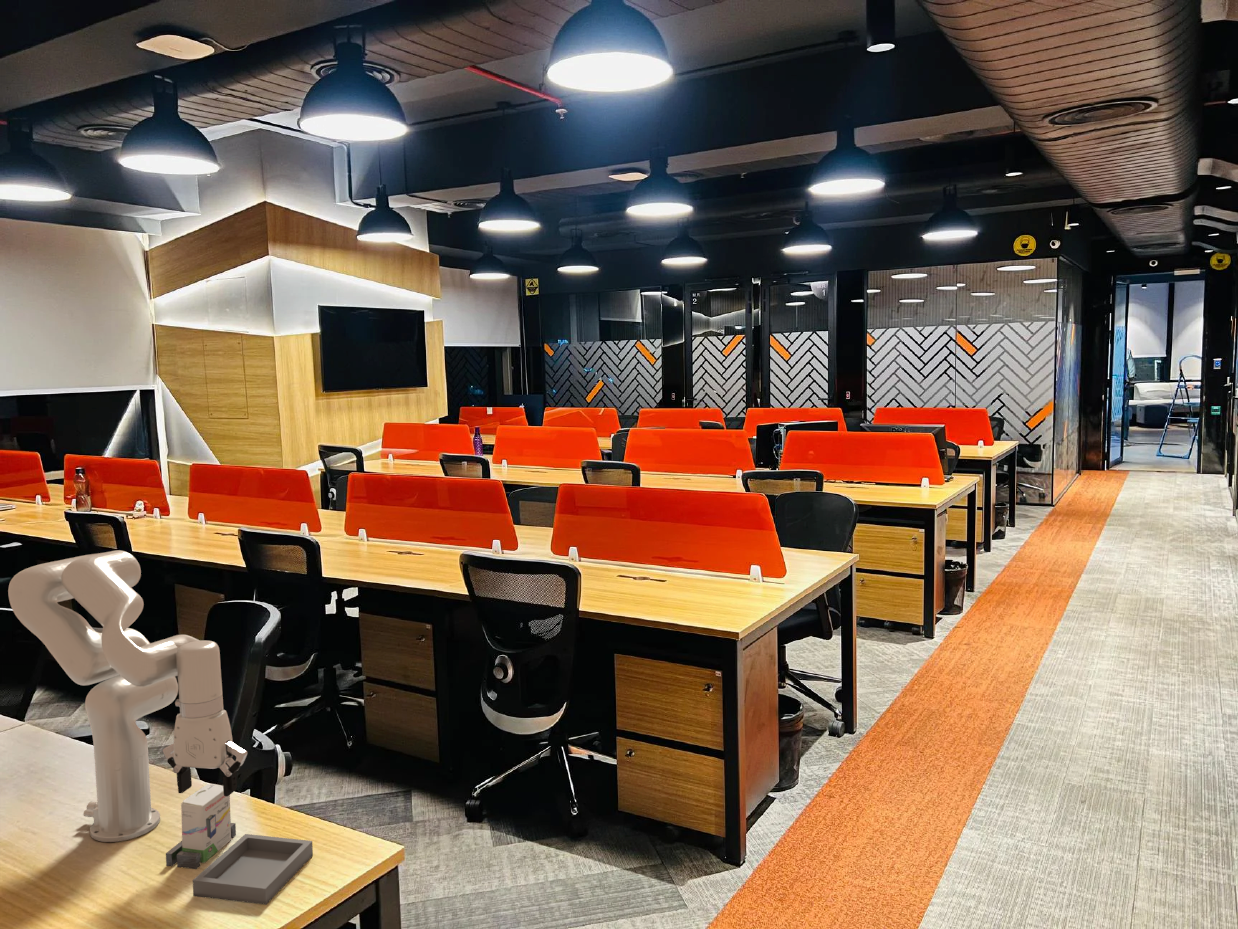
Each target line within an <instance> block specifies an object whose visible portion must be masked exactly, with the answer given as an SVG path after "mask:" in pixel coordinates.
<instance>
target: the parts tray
mask: <svg viewBox="0 0 1238 929" xmlns="http://www.w3.org/2000/svg"><path fill="white" fill-rule="evenodd" d="M313 849H314V848H313V840H307V839H306V840H305V839H299V838H298V839H296V838H287V837H280V836H268V835H259V834H251V833H250V834H249V833H244V835H243V836H241V837H240V838H238V840H237V841H236V842H235V843H234V844H232V845H231V846H230V847H229V848H228V849H226V850H225V851H224V852H223V853H222V854H221V855H220V856H218V858H216V859H215V860H214V861H213V862H211V864H210V865H208V866H206V868H205V869H204V870H202V871H201V872H200V873H199V874H197V875H196V877H194V879H192V894H193V897H199V898H205V897H206V898H205V899H215V900H222V901H230V902H231V901H232V902H241V903H249V904H255V905H256V904H257V905H264V906H266V905H267V904H268V903H269V902H271V901H272V899H273V898H274V897H275V896H276V895H277V894H278V893H279V892H280V891H281V890H282V889H283V888H284V886H285V885H286V884H287V883H289V881H290V880H291V879H292V878H293V877H294V876H295V875H296V874H297V873H298V872H299V871H300V870H301V869H302V868H303V867H304V866H305V864H307V862H308V861H309V860H310V859H311V858H312V857H313V856H314V853H313V852H314V850H313Z"/></svg>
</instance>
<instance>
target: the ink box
mask: <svg viewBox="0 0 1238 929" xmlns="http://www.w3.org/2000/svg"><path fill="white" fill-rule="evenodd" d="M180 806H181V808H180V810H181V841H182V851H183V852H192V853H200V864H201V863H202V864H205V863H206V862H207V861H209V860H210V859H211V858H212V857H213V856H214V855H215V854H216V853H218V852H219V851H220V850H221V849H222V848H223V847H225V846H226V845H227V844H228V843H230V841H232V838H231V823H232V822H231V820H232V818H231V817H232V816H231V794H230V795H229V796H224V791H223V784H218V783H217V784H216V783H207V784H205V785H204V786H202V787H201V788H200V789H198V790H197V791H195V792H194V793H192V794H190V795H189V796H188V797H186V798H185V799H183V800H182V802H181V803H180Z"/></svg>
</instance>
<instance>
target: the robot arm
mask: <svg viewBox="0 0 1238 929" xmlns="http://www.w3.org/2000/svg"><path fill="white" fill-rule="evenodd" d="M141 573H142V570H141V565H140V563H139V562H138V560H137V558H136V557H135V556H134V555H133V554H131V553H129V552H127V551H125V550H120V549H119V550H111V551H106V552H100V553H99V552H98V553H91V554H85V555H79V556H75V557H69V558H65V559H60V560H54V561H50V562H45V563H40V564H37V565H33V566H30V567H28V568H27V567H26V568H24V569H23V570H21V571H19V572H17V573H16V574H15V575H13V577H12V578H11V579H10V581H9V585H8V590H7V592H8V600H9V604H10V607H11V609H12V612H13V613H14V615H15V617H16V618H17V619H18V620H19V622H20V623H21V624H22V625H23V626H24V627H25V628H26V629H27V630H29V631H30V632H31V634H33V635H34V636H36V637H37V638H38V639H39V640H40V641H41V643H42V644H43V645H45V648H46V649H47V650H48V652H49V653H50V654H51V656H52V657H53V658H54V659H55V661H56V662H57V664H59V666H60V667H61V668H62V670H63V671H64V672H65V674H66V675H67V676H68V677H69V678H70V679H71V681H73V682H74V683H75V684H77V685H80V686H90V685H93V684H96V685H95V686H93V688H91V689H90V691H89V692H88V693H87V695H86V697H85V702H84V703H85V704H84V707H85V713H86V716H87V719H88V722H89V726H90V731H91V735H92V741H93V742H92V744H93V756H94V767H95V784H96V785H95V786H96V799H97V800H96V801H90V802H88V803H87V805H86V809H85V810H84V811H83V814H82V815H83V817H85V818H86V817H87V818H93V823H92V824H91V825H90V828H89V832H90V833H89V835H90V837H91V838H92V839H94V840H96V841H98V842H101V843H103V842H104V843H118V842H124V841H127V840H131V839H135V838H137V837H138V838H139V837H140V836H142V835H146V834H147V833H149V832H150V831H152V830H153V829H155V828H156V827H157V826H158V824H159V823H160V821H161V813H160V812H159V810H158V809H155V808H153V807H152V798H151V797H152V796H151V781H150V761H149V747H148V746H149V745H148V738H147V736H146V734H145V732H144V731H143V730H142V729H141V728H140V727H139V726H138V725H137V720H138V719H141V718H144V716H147V715H149V714H152V713H154V712H156V711H159V710H162V709H163V708H165V707H167V706H169V705H170V704H172V703H173V702H174V701H175V702H174V704H175V707H179V713H177V715H176V716H175V723H174V729H173V731H174V732H173V743H172V744H169V745H168V746H165V747H164V748H163V749H162V753H163V754H164V757H165V759H167V764H168V765H170V767H171V768H172V771H173V773H174V774H176V783H177V791H178V792H177V793H178V794H183V793H185V792H186V791H187V790H189V789H191V787H192V784H193V783H192V771H191V770H192V769H191V768H194V769H195V768H197V769H207V770H209V769H210V770H211V769H212V770H214V769H220V770H221V772H223V774H224V776H222V785H223V791H224V796H229V795H230V796H231V795H232V794H233V793H234V792H235V791H237V787H238V779H237V777H238V776H237V771H239V769H240V768H241V767H242V766H243V765H244V763H245V761H246V758H247V756H248V751H247V750H245V749H243V748H242V747H240V746H239V745H237V744H236V743H234V741H233V735H232V728H231V723H230V718H229V716H228V712H227V710H225V709H224V699H223V698H224V697H223V683H222V682H223V680H222V669H221V654H220V652H221V650H220V647H219V645H218V643H217V642H215V641H212V640H201V639H200V640H199V639H198V638H195V637H193V636H190V635H188V634H176V635H173V636H170V637H167V638H165V639H164V638H163V639H160V640H157V641H154V642H150V641H149V640H148V638H146V637H145V635H143V634H142V633H141V632H140V631H138V630H137V629H134V628H130V626H131V625H132V624H133V623H134V622H136V620H137V619H138V618H139V616H140V615H141V614H142V612H143V610H144V605H145V604H144V599H143V597H141V595H140V594H139V593H138V592H136V591H135V590H134V589H133V587H134V586H136V585H137V584H138V583H139V581H140V580H141V577H142V574H141ZM72 599H74V600H75V601H77V603H78V604H80V605H81V607H83V608H84V609H85V611H87V612H88V613H89V614H90V615H91V616H92V617H93V618H94V619H95V620H96V621H97V622H98V623H99V624H100V625H101V626H102V631H101V632H98V631H96V630H95V629H94V628H93V627H92V626H91V625H90V624H89V622H88V621H87V619H85V618H84V617H83V616H82V615H81V614H79V612H77V611H74V610H73V609H70V608H69V607H65V606H63V605H60V604H59V602H64V601H68V600H72ZM97 683H98V684H97ZM177 696H178V698H177ZM176 698H177V699H176ZM234 756H235V758H236V759H235V760H234V759H233V757H234Z"/></svg>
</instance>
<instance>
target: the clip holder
mask: <svg viewBox="0 0 1238 929" xmlns="http://www.w3.org/2000/svg"><path fill="white" fill-rule="evenodd" d="M236 827H237V825H236V822H235V823H234V822H231V839H233V838H234V837H236V836H237V831H236V830H237V828H236ZM175 865H176V866H177V868H181V867H183V868H182V869H188V870H189V869H192V870H197V869H198V868H200V867H201V862H200V853H192V852H183V851H182V840H181V841H179V842H178V843H176V845H174V846H173V847H172V848H171V849H169V850H168V851H167V852H166V853H165V866H166V867H174V866H175Z"/></svg>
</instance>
